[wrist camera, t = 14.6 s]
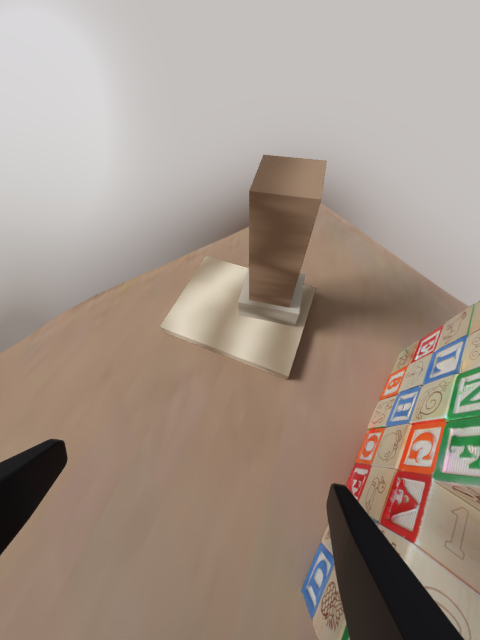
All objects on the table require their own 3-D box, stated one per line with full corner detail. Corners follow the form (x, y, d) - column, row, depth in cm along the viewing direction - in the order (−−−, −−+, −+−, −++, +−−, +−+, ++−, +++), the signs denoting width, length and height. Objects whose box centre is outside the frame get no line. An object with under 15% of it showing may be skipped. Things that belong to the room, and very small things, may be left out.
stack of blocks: (391, 680, 14) (939, 1574, 3) (298, 589, 16) (411, 910, 5) (466, 385, 22) (682, 324, 11) (399, 349, 24) (525, 268, 13)
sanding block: (300, 288, 26) (343, 158, 14) (294, 326, 24) (340, 207, 12) (249, 279, 27) (250, 149, 15) (238, 315, 25) (230, 193, 13)
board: (313, 294, 27) (316, 287, 26) (286, 379, 22) (288, 376, 21) (207, 262, 30) (205, 255, 29) (163, 331, 25) (159, 326, 24)
